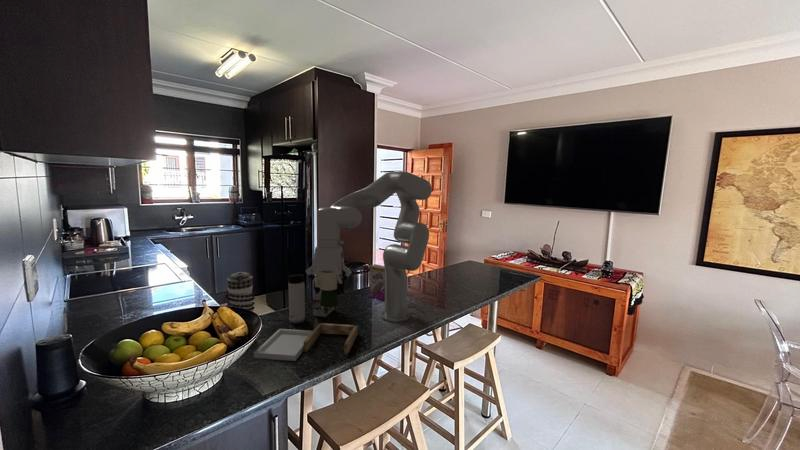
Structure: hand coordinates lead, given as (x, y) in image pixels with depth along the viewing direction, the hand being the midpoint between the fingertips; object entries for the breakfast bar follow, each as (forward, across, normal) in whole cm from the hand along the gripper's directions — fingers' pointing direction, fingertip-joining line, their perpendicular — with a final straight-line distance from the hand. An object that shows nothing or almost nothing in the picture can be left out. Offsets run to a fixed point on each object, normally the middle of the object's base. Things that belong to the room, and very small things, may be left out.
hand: (328, 292), depth 114 cm
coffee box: (+19, +11, -27) cm, 35 cm away
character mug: (+5, 0, 0) cm, 5 cm away
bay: (+19, -1, 0) cm, 19 cm away
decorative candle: (+19, +31, +2) cm, 36 cm away
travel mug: (+19, +19, -17) cm, 32 cm away
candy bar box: (+19, -11, -49) cm, 54 cm away
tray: (+19, +14, +4) cm, 24 cm away
